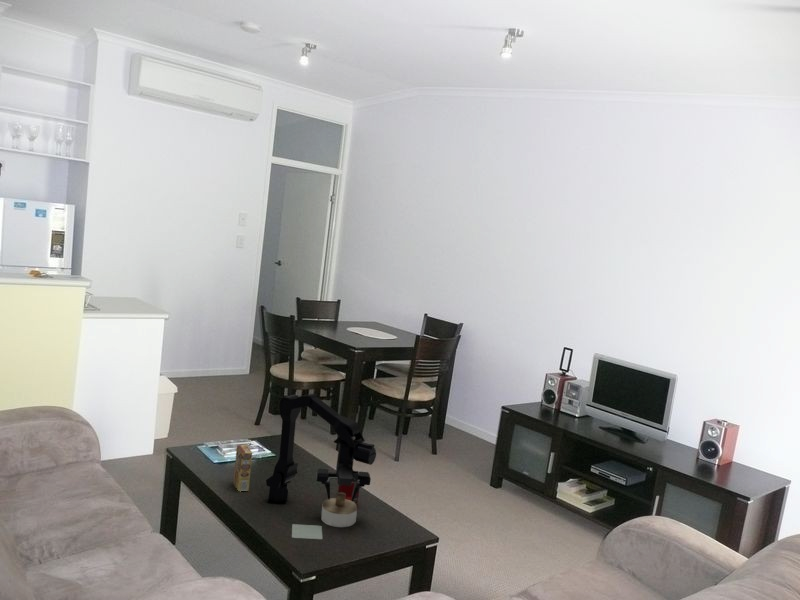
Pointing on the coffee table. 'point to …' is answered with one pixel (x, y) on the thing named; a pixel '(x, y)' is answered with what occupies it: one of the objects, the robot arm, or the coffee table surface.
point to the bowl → (338, 518)
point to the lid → (339, 504)
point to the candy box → (242, 468)
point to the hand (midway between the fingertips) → (340, 500)
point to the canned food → (349, 492)
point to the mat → (306, 531)
